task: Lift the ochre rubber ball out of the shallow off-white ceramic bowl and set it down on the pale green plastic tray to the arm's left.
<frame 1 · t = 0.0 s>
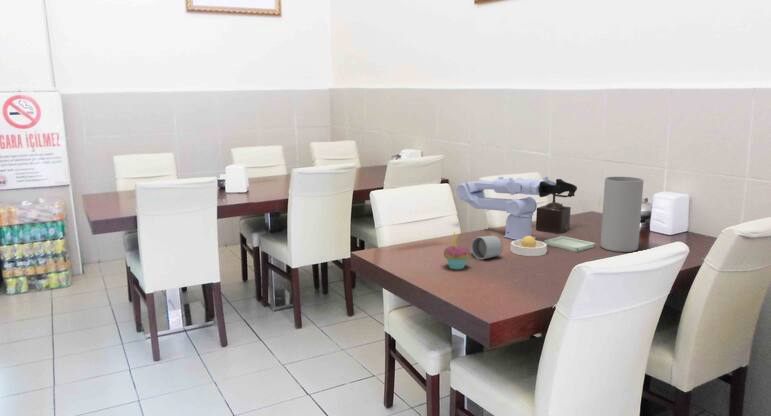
hand: (566, 188, 203), 22 cm above the table, tool horizontal, fingers open, 7 cm apart
ball: (528, 242, 203), point 3 cm above the table, touching bowl
brown manual coffee grinder: (556, 229, 238), on the table
cupcake: (456, 267, 185), on the table
cylinder vase: (618, 248, 207), on the table
bowl: (528, 251, 203), on the table
tray: (569, 245, 211), on the table
ceramic mug: (484, 257, 197), on the table
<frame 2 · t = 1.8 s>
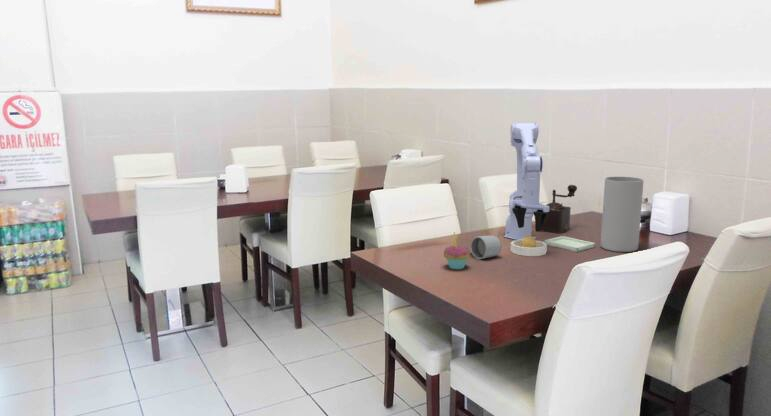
hand: (529, 229, 202), 8 cm above the table, tool pointing down, fingers open, 7 cm apart
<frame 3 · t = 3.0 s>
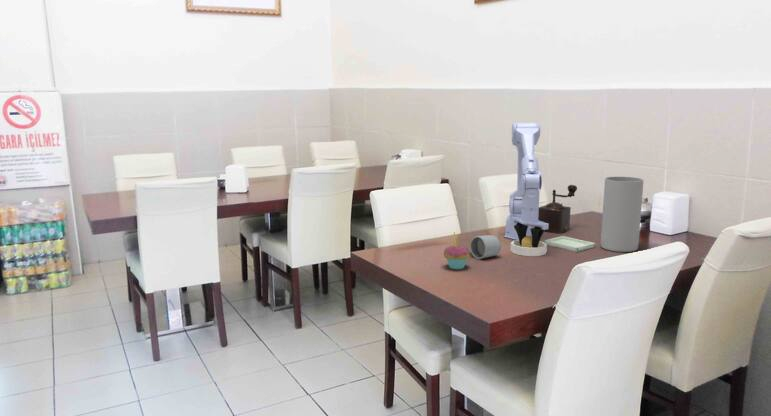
hand: (528, 245, 203), 2 cm above the table, tool pointing down, fingers closed on ball, 5 cm apart
ball: (528, 242, 203), point 3 cm above the table, touching bowl, gripper
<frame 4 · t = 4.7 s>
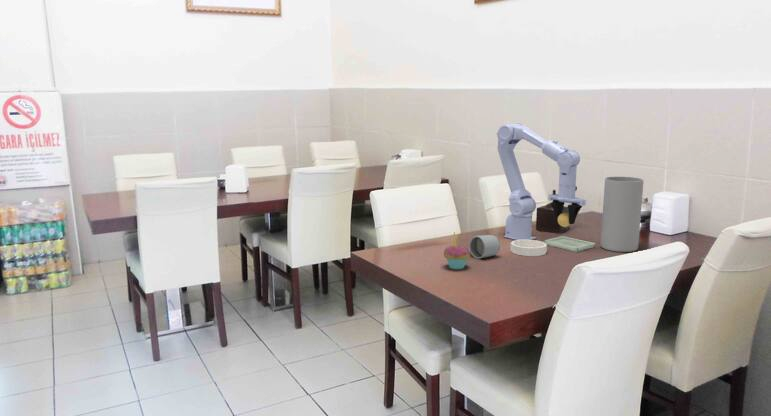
hand: (565, 222, 208), 9 cm above the table, tool pointing down, fingers closed on ball, 5 cm apart
ball: (564, 219, 207), point 10 cm above the table, touching gripper
when the fingers open (3 cm above the table, at t = 6.5 s): ball drops 1 cm, resting on tray.
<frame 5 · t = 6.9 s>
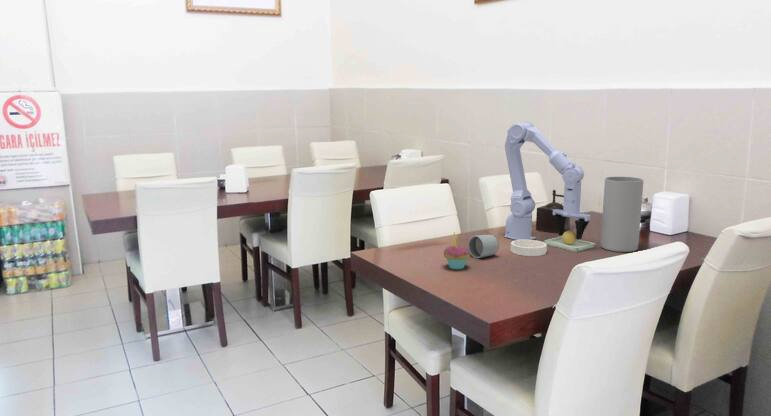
hand: (569, 237, 210), 3 cm above the table, tool pointing down, fingers open, 7 cm apart
ball: (569, 237, 210), point 3 cm above the table, touching tray
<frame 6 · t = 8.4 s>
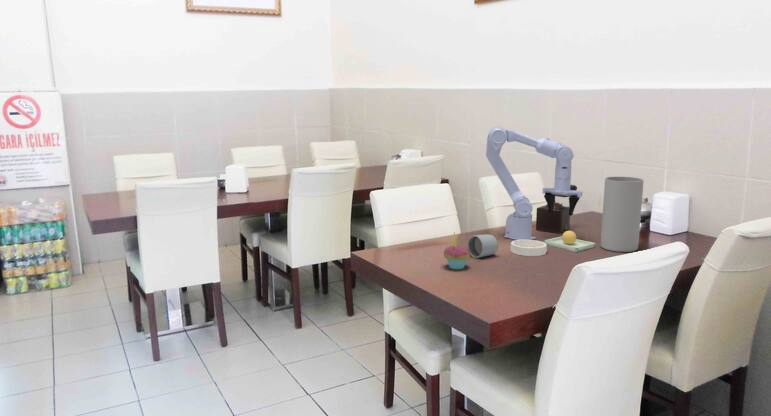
hand: (560, 214, 218), 10 cm above the table, tool pointing down, fingers open, 7 cm apart
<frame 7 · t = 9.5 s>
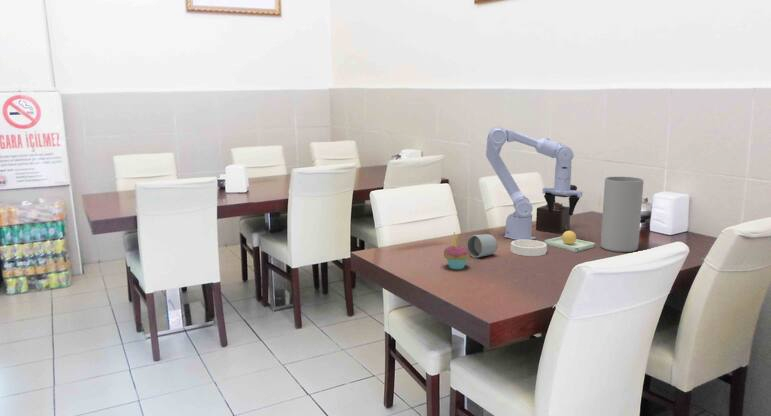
hand: (560, 214, 218), 10 cm above the table, tool pointing down, fingers open, 7 cm apart
at the end: ball inside the target area on the tray (0.2 cm from its centre), point 3.1 cm above the tray's base; the gripper is holding nothing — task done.
